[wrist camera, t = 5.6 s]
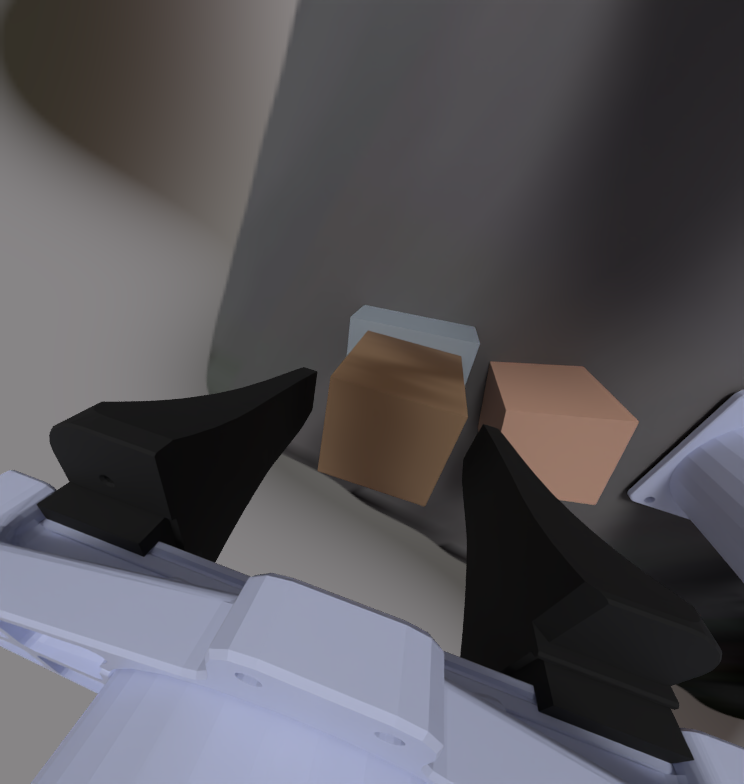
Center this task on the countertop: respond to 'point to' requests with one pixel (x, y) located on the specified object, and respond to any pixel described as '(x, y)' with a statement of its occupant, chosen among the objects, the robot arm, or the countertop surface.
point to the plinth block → (416, 332)
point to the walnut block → (393, 416)
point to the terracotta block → (559, 425)
